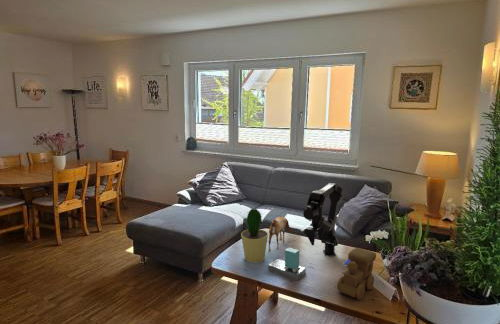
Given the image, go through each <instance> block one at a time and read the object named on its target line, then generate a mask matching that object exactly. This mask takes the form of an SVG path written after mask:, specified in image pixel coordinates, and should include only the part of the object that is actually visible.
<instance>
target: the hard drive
mask: <svg viewBox="0 0 500 324" xmlns="http://www.w3.org/2000/svg"><path fill="white" fill-rule="evenodd" d="M349 262H350V260H349V259H348V258H347V259H346V261H344V262H343V264H342V265H343V266H344V267H347V264H348V263H349Z"/></svg>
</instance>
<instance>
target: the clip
mask: <svg viewBox="0 0 500 324" xmlns="http://www.w3.org/2000/svg"><path fill="white" fill-rule="evenodd" d="M284 261H285V269H287V270H289V269H290V268H291V269H293V272H297V271H298V270H299V266H300V250H299V249H296V248H292V247H290V246H289V247H287V248H286V249H284Z"/></svg>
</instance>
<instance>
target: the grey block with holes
mask: <svg viewBox="0 0 500 324" xmlns="http://www.w3.org/2000/svg"><path fill="white" fill-rule="evenodd" d="M267 270H268V271H269V272H272V273H275V274H278V275H280V276H283V277H286V278H289V279H292V280H294V281H299V280H300V279H301V278H302V277H303V276H304V275H306V270H307V269H306V267H304V266H301V265H299V270H298V271H297V272H293V269H291V268H290V269H289V270H287V269H285V260H284V259H280V258H276V259H275V260H273V261H272V262H270V263H269V264H268V265H267Z"/></svg>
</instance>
